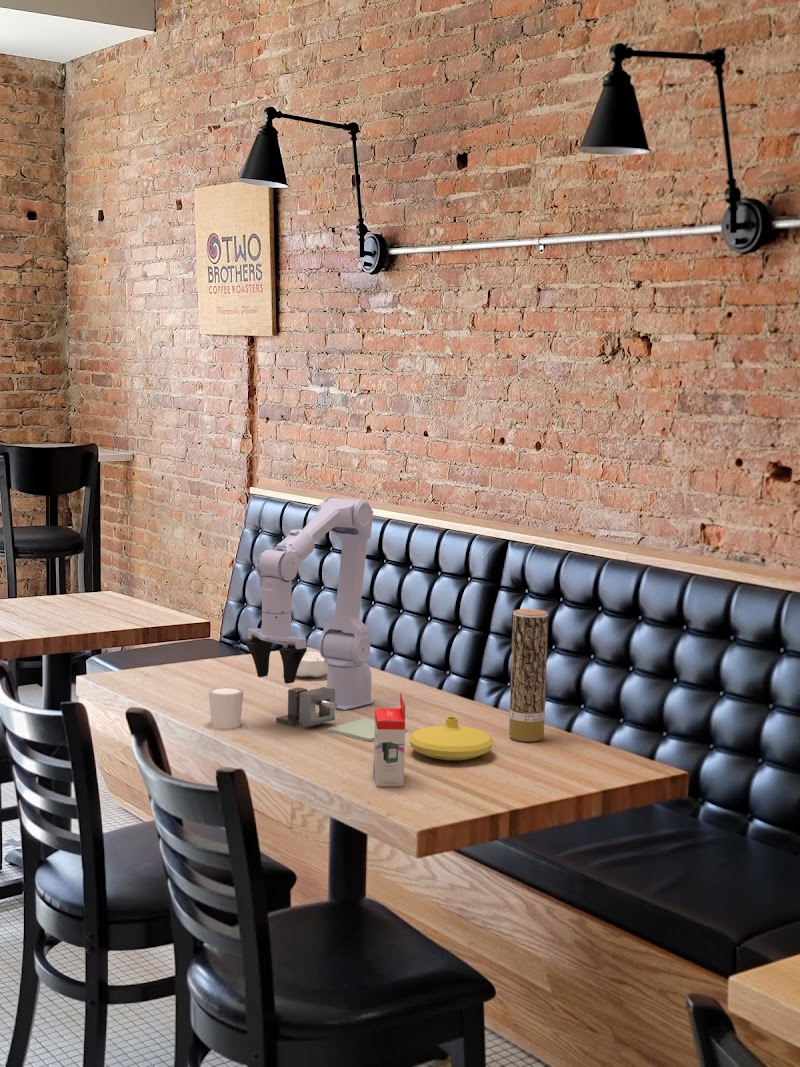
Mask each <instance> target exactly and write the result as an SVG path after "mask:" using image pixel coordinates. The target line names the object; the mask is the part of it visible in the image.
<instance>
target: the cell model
mask: <svg viewBox="0 0 800 1067" xmlns="http://www.w3.org/2000/svg"><path fill="white" fill-rule="evenodd" d="M327 664H328V663H324V658H323V657H322V656H321V654H320V651H318V652H316V651H306V653H305V654H304V656H303V658H302V660H301V662H300V664H299V667H298V670H297V674H296V677H299V678H320V677H322V676H324V675H325V674H327Z"/></svg>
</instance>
